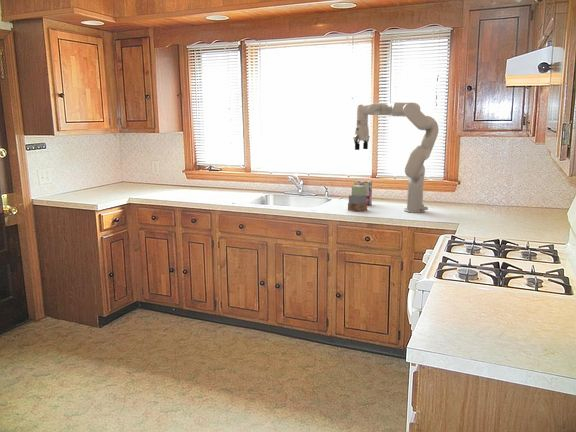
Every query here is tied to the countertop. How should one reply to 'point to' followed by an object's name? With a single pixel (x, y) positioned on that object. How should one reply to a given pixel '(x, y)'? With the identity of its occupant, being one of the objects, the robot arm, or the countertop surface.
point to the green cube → (358, 190)
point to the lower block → (357, 207)
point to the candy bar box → (366, 190)
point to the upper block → (357, 199)
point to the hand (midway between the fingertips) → (361, 149)
